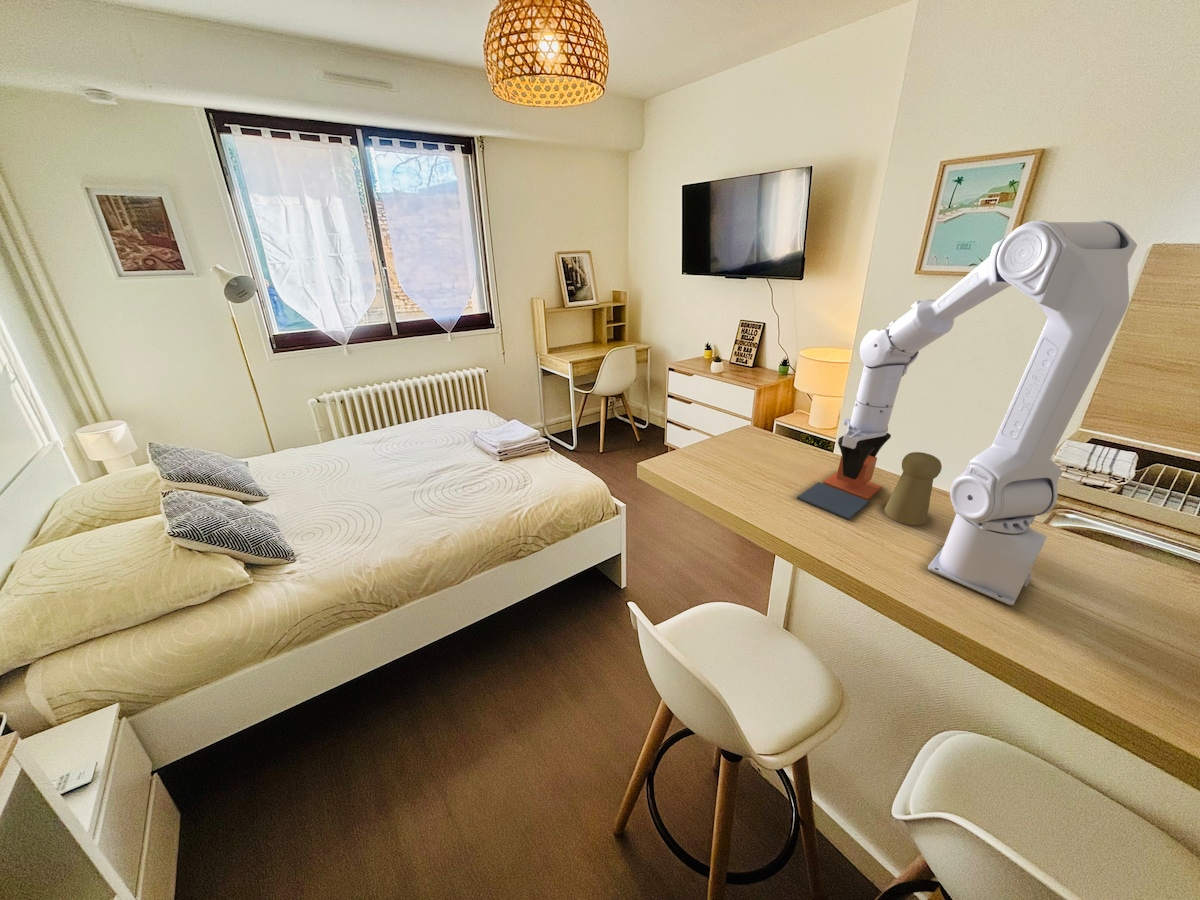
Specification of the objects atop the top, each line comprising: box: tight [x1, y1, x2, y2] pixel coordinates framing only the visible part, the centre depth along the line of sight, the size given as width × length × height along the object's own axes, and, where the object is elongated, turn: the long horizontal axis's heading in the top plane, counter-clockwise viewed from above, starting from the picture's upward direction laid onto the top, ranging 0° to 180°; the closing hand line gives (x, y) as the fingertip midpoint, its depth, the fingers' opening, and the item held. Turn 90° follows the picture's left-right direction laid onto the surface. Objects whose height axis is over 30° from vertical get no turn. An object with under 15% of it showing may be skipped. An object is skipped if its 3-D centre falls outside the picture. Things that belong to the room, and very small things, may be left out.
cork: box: [883, 451, 943, 527], centre depth 75 cm, size 6×6×11 cm
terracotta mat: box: [822, 472, 883, 501], centre depth 86 cm, size 8×6×1 cm
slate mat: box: [796, 481, 870, 521], centre depth 81 cm, size 9×8×1 cm
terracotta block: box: [836, 455, 878, 487], centre depth 85 cm, size 4×4×4 cm
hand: (855, 472), depth 85 cm, fingers closed on terracotta block, 4 cm apart
